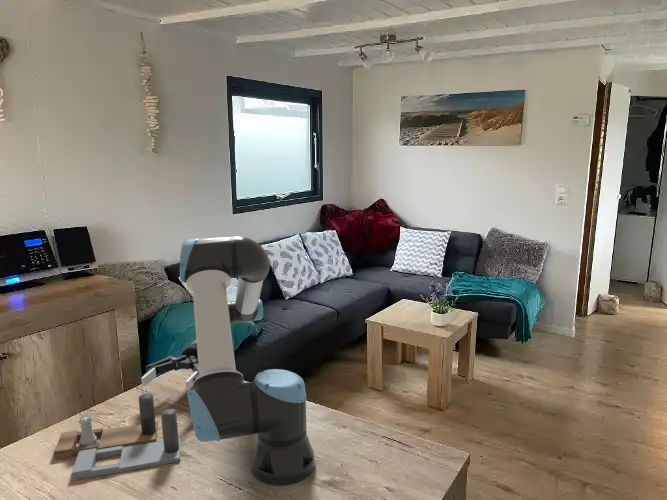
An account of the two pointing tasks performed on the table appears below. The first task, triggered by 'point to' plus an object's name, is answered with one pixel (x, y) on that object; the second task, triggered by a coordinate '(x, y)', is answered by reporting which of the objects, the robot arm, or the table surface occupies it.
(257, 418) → the robot arm
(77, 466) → the grey board with post
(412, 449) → the table surface
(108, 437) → the brown board with post
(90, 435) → the rook chess piece
